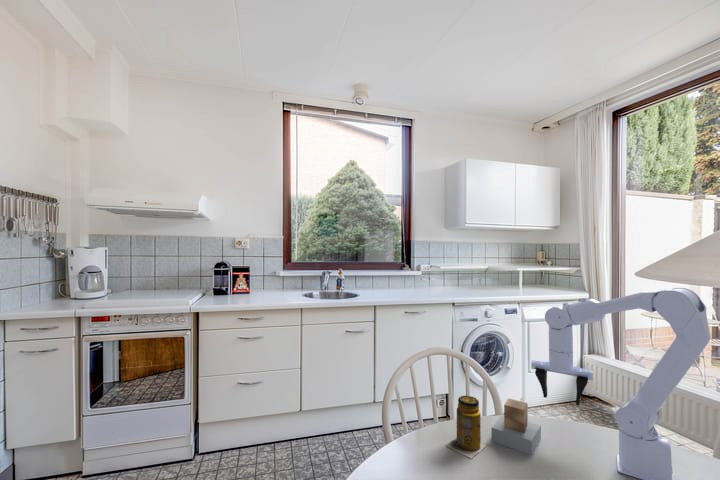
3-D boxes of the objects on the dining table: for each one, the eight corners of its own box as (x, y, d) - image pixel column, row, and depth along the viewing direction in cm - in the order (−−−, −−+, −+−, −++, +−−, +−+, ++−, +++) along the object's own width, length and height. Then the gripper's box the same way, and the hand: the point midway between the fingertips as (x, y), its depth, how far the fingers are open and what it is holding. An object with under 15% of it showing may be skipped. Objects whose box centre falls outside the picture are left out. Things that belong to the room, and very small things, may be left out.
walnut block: (527, 425, 93) (527, 403, 94) (524, 433, 89) (524, 409, 89) (508, 419, 96) (508, 398, 96) (504, 427, 92) (504, 404, 92)
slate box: (540, 440, 93) (540, 425, 93) (532, 457, 86) (531, 440, 86) (503, 427, 100) (503, 413, 100) (491, 442, 92) (491, 427, 92)
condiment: (487, 445, 90) (486, 399, 90) (471, 459, 84) (470, 409, 84) (462, 434, 95) (461, 391, 95) (445, 446, 89) (445, 400, 90)
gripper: (592, 351, 93) (593, 401, 92) (534, 342, 101) (534, 388, 101) (592, 358, 87) (592, 411, 87) (529, 348, 96) (530, 397, 95)
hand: (561, 400), depth 93 cm, fingers open, 7 cm apart
